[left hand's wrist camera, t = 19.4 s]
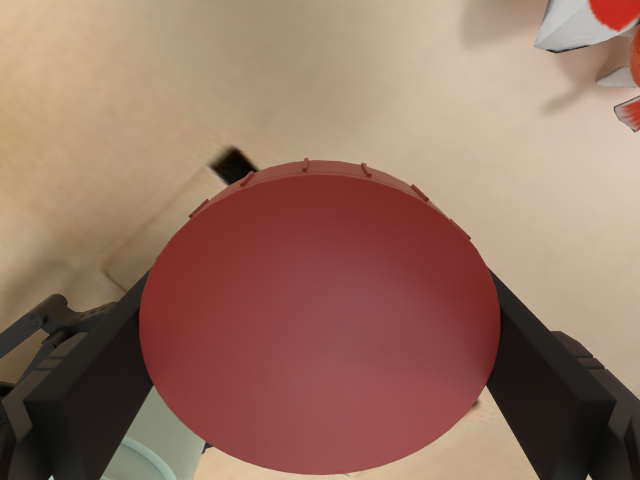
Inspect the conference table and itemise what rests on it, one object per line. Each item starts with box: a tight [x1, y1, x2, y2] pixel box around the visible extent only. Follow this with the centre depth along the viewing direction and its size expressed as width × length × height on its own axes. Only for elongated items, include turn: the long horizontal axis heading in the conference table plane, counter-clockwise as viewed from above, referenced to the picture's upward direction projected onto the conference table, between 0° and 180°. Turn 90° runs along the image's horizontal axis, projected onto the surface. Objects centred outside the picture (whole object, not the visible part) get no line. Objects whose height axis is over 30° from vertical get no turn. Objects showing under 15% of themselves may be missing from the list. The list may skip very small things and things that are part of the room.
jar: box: [49, 386, 206, 480], centre depth 25 cm, size 10×10×15 cm
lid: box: [139, 158, 501, 475], centre depth 11 cm, size 10×10×2 cm
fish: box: [534, 0, 640, 132], centre depth 19 cm, size 11×16×10 cm
